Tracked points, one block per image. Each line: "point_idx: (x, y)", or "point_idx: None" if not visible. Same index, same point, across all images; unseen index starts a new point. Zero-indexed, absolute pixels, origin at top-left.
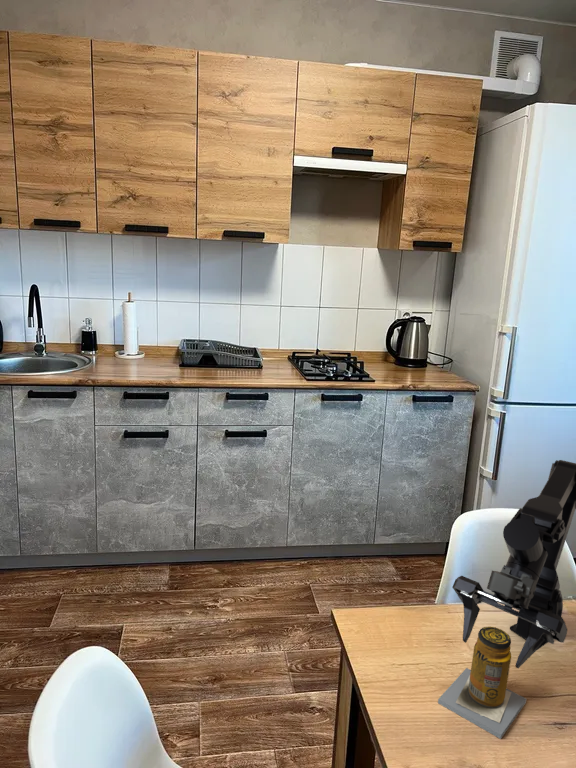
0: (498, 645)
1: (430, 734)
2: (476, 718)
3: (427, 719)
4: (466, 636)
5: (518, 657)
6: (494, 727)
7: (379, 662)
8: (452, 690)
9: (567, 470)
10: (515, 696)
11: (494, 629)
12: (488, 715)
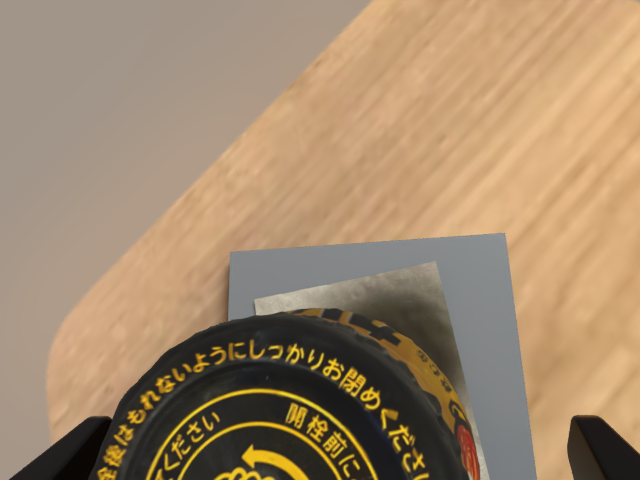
0: (165, 358)
1: (425, 89)
2: (332, 256)
3: (475, 135)
4: (590, 455)
5: (57, 464)
6: (262, 266)
7: None
8: (494, 332)
9: None
10: None
11: None
12: (302, 304)
